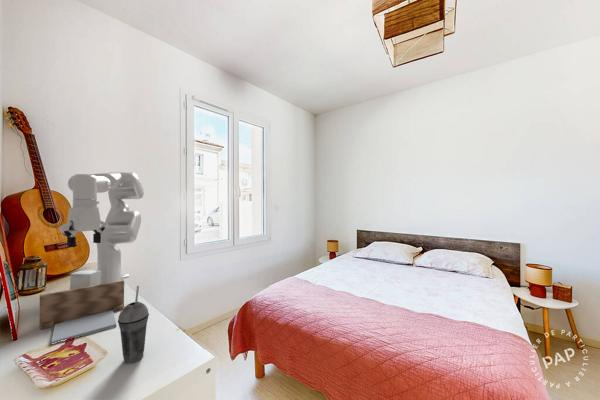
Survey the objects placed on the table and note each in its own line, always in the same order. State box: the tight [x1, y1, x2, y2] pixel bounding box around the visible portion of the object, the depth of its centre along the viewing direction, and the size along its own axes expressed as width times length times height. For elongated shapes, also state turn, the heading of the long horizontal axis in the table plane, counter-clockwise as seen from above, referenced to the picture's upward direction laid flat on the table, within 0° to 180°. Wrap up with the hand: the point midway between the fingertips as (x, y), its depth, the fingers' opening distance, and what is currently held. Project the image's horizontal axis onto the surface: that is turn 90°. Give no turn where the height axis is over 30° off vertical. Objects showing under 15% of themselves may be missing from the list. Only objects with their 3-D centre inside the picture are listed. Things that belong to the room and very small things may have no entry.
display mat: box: [50, 310, 117, 343], centre depth 84 cm, size 16×14×1 cm
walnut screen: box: [39, 279, 125, 330], centre depth 93 cm, size 24×6×11 cm, turn 132°
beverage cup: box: [117, 285, 150, 365], centre depth 68 cm, size 7×7×20 cm
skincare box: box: [69, 269, 101, 290], centre depth 100 cm, size 8×6×15 cm
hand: (84, 244), depth 100 cm, fingers open, 9 cm apart
